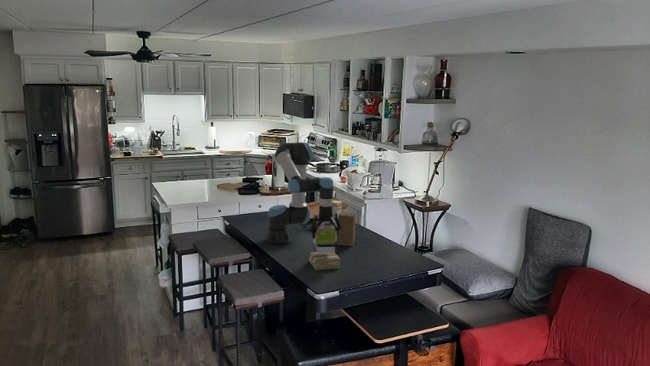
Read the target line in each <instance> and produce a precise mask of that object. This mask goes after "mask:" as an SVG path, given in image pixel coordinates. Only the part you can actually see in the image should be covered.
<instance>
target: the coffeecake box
mask: <svg viewBox="0 0 650 366" xmlns="http://www.w3.org/2000/svg"><path fill="white" fill-rule="evenodd" d="M332 206H333V210H332V214H333V213H337V217H338V215H339V214H340V212H343V210H342V209H343V207H342V206H343V201H340V200H336V199H335V200H334V199H333V205H332ZM331 219H332V220H333V222H334V223H335V225H336V222H335V219H334V217H333V216H332V218H331ZM336 226H337V225H336Z"/></svg>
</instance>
